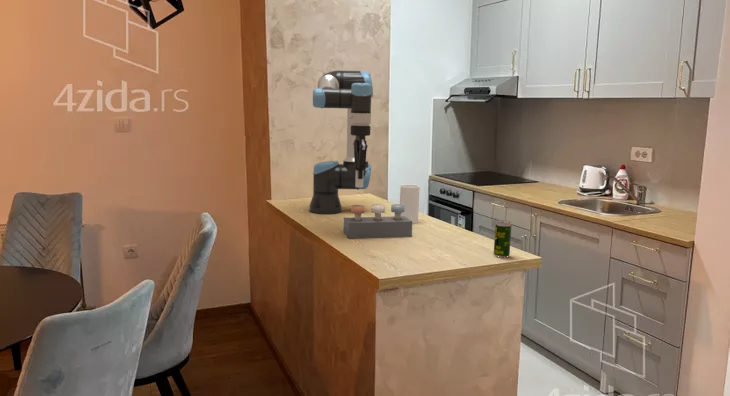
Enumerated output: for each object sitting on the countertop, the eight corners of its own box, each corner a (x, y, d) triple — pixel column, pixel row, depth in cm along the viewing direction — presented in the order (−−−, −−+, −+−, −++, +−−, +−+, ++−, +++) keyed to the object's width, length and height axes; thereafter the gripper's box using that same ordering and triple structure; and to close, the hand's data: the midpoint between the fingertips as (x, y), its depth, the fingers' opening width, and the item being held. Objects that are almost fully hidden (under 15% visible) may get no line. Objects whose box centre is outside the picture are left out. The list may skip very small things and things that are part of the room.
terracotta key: (349, 223, 218) (349, 205, 216) (362, 223, 219) (363, 204, 217) (352, 226, 213) (352, 207, 211) (365, 226, 214) (366, 207, 212)
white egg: (369, 223, 219) (370, 204, 218) (382, 222, 221) (382, 204, 219) (372, 226, 214) (373, 207, 213) (385, 225, 216) (386, 207, 214)
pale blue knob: (389, 222, 221) (389, 204, 220) (401, 222, 222) (402, 204, 221) (392, 225, 216) (393, 206, 215) (405, 225, 217) (406, 206, 216)
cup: (417, 224, 238) (418, 187, 235) (397, 223, 240) (399, 186, 237) (419, 220, 246) (420, 184, 243) (400, 219, 248) (401, 183, 245)
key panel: (343, 232, 220) (343, 217, 219) (404, 230, 226) (404, 216, 225) (348, 238, 210) (348, 223, 209) (411, 236, 216) (412, 221, 215)
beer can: (497, 253, 195) (500, 219, 193) (512, 256, 192) (514, 221, 190) (490, 256, 191) (492, 221, 189) (505, 259, 188) (507, 224, 186)
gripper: (347, 124, 215) (346, 184, 219) (354, 125, 202) (353, 189, 206) (366, 124, 217) (364, 184, 220) (374, 125, 204) (373, 189, 208)
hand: (359, 187), depth 213 cm, fingers closed
